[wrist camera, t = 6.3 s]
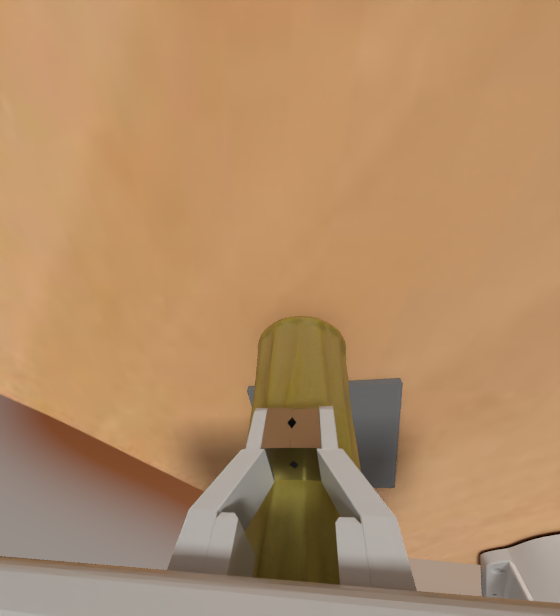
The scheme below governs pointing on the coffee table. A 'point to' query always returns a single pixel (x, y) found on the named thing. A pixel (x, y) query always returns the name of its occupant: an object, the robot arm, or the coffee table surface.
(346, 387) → the vase
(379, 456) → the mat
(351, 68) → the coffee table surface
